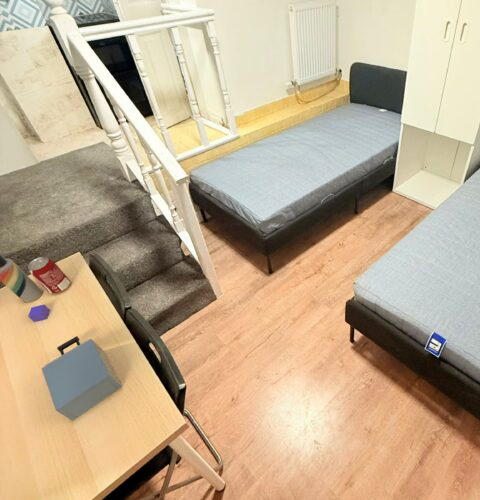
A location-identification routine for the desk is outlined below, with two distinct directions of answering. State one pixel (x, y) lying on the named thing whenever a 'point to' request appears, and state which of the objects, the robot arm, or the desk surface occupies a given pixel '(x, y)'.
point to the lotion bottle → (18, 281)
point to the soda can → (48, 275)
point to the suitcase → (80, 380)
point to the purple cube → (38, 313)
